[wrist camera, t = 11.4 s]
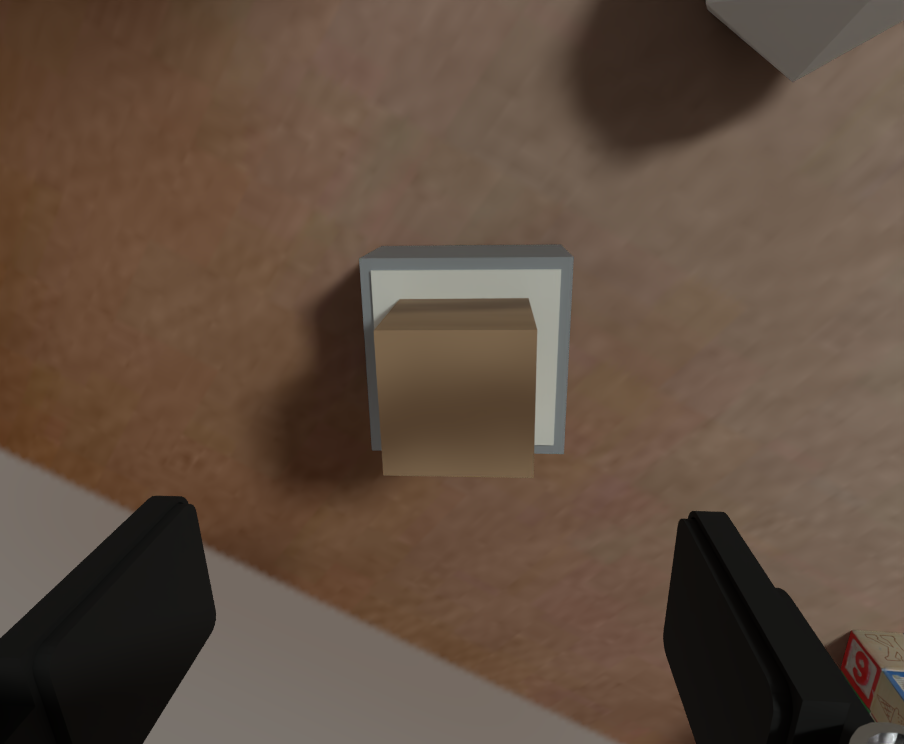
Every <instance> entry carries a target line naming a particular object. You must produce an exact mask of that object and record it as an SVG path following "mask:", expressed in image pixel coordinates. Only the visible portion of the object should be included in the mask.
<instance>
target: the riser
mask: <svg viewBox="0 0 904 744" xmlns="http://www.w3.org/2000/svg"><path fill="white" fill-rule="evenodd" d="M573 260H574V257H573V256H572V255H571V254H570V253H569V252H568V251H567V250H566V249H565V248H564V247H563V246H562V245H455V246H381V247H379V248H377V249H375V250H374V251H372V252H370V253H368V254H366V255H365V256H363V257H361V258H359V264H360V279H361V294H362V309H363V324H364V339H365V354H366V369H367V384H368V400H369V415H370V430H371V445H372V450H379V451H382V448H381V433H380V419H379V404H378V389H377V374H376V360H375V345H374V329H375V328H376V327H377V326H378V325H379V323H380V322H381V321H382V320H383V318H384V317H385V316H386V315H387V314H388V312H389V311H390V310H391V309H392V308H393V306H394V305H395V304H396V303H397V302H398V300H399V299H473V298H529V302H530V305H531V309H532V312H533V316H534V320H535V323H536V327H537V363H536V403H535V444H534V453H540V454H564V439H565V419H566V399H567V379H568V359H569V339H570V319H571V299H572V279H573Z"/></svg>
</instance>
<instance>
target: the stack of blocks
mask: <svg viewBox="0 0 904 744" xmlns="http://www.w3.org/2000/svg"><path fill="white" fill-rule="evenodd" d="M841 672H842V674H843V675H844V677H845V678H846V680H847V681H848V683H849V684H850V686H851V687H852V689H853V690H854V692H855V693H856V695H857V696H858V698H859V699H860V701H861V702H862V704H863V705H864V706H865V708H866V709H867V711H868V712H869V714H870V715H871V717H872V718H873V720H874V721H875V722H889V723H894V724H898V725H903V726H904V634H902V633H893V632H877V631H860V630H852V631H851V633H850V636H849V640H848V643H847V647H846V651H845V654H844V658H843V662H842V665H841Z"/></svg>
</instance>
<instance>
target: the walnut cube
mask: <svg viewBox="0 0 904 744" xmlns="http://www.w3.org/2000/svg"><path fill="white" fill-rule="evenodd" d="M374 345H375V360H376V374H377V389H378V404H379V419H380V433H381V448H382V463H383V475H387V476H450V477H513V478H534V444H535V403H536V363H537V327H536V323H535V320H534V316H533V312H532V309H531V305H530V302H529V298H473V299H399V300H398V302H397V303H396V304H395V305H394V306H393V308H392V309H391V310H390V311H389V312H388V314H387V315H386V316H385V317H384V318H383V320H382V321H381V322H380V323H379V325H378V326H377V327H376V328H375V329H374Z"/></svg>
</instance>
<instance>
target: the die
mask: <svg viewBox="0 0 904 744" xmlns="http://www.w3.org/2000/svg"><path fill="white" fill-rule="evenodd" d="M706 6H707V9H708V11H710V12H711V13H712V14H713V15H714V16H715V17H717V18H718V19H719V20H720V21H721V22H722V23H724V24H725V25H726V26H727V27H728V28H730V29H731V30H732V31H733V32H734V33H735V34H737V35H738V36H739V37H740V38H741V39H742V40H744V41H745V42H746V43H747V44H748V45H749V46H751V47H752V48H753V49H754V50H755V51H757V52H758V53H759V54H760V55H761V56H762V57H764V58H765V59H766V60H767V61H768V62H769V63H771V64H772V65H773V66H774V67H775V68H776V69H778V70H779V71H780V72H781V73H782V74H784V75H785V76H786V77H787V78H788V79H789V80H791V81H792V82H794V81H796V80H798V79H800V78H802V77H803V76H805V75H807V74H809V73H811V72H812V71H814V70H816V69H818V68H819V67H821V66H823V65H825V64H827V63H828V62H830V61H832V60H834V59H836V58H837V57H839V56H841V55H843V54H845V53H846V52H848V51H850V50H852V49H853V48H855V47H857V46H859V45H861V44H862V43H864V42H866V41H868V40H870V39H871V38H873V37H875V36H877V35H878V34H880V33H882V32H884V31H886V30H887V29H889V28H891V27H893V26H895V25H896V24H898V23H900V22H902V21H904V0H706Z"/></svg>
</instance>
